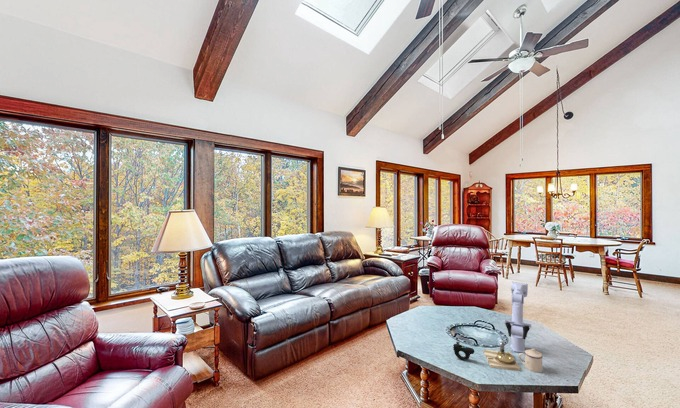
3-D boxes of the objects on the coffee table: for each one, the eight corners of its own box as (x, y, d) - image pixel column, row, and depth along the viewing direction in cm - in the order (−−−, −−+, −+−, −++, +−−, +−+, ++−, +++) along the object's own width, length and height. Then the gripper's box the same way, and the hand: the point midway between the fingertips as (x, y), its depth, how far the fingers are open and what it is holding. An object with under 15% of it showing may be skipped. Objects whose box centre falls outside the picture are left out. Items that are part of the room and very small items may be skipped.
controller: (454, 355, 193) (454, 339, 193) (474, 361, 186) (474, 344, 186) (452, 358, 190) (452, 342, 189) (473, 364, 183) (473, 347, 182)
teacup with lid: (542, 367, 179) (542, 347, 179) (542, 374, 171) (542, 354, 171) (519, 361, 186) (519, 342, 185) (518, 368, 178) (518, 348, 178)
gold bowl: (515, 364, 178) (515, 352, 178) (499, 362, 180) (499, 350, 180) (509, 353, 191) (509, 342, 190) (493, 352, 193) (493, 341, 193)
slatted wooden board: (483, 351, 197) (483, 349, 197) (510, 354, 193) (510, 352, 193) (490, 367, 179) (490, 364, 179) (520, 371, 175) (520, 368, 175)
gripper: (505, 312, 183) (505, 335, 180) (533, 316, 179) (532, 341, 175) (503, 311, 190) (502, 334, 186) (529, 316, 185) (529, 339, 182)
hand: (517, 337), depth 181 cm, fingers open, 7 cm apart
